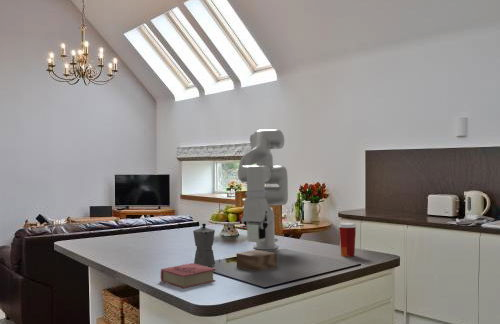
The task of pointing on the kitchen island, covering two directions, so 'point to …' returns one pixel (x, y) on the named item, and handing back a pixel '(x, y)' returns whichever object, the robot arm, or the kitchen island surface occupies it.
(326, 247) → the kitchen island surface
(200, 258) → the coffeepot
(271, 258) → the walnut box
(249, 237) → the tea tin
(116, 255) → the kitchen island surface
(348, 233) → the coffee cup
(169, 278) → the book
